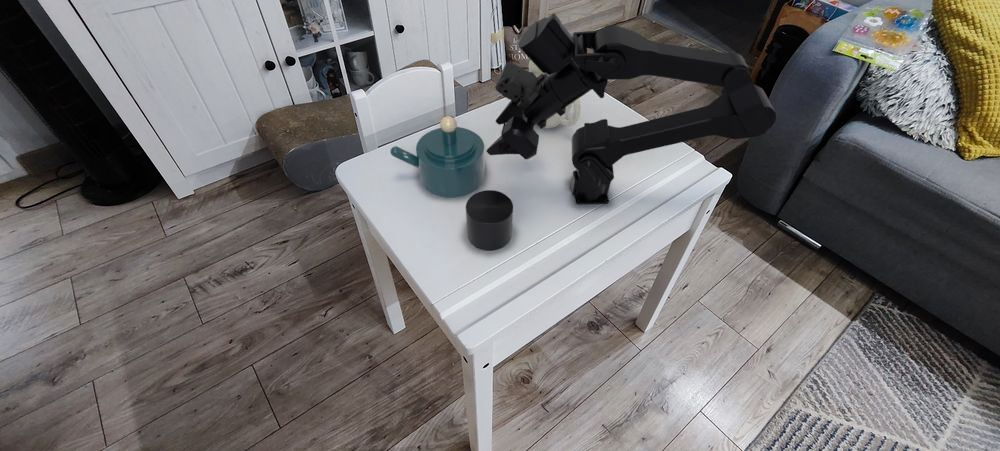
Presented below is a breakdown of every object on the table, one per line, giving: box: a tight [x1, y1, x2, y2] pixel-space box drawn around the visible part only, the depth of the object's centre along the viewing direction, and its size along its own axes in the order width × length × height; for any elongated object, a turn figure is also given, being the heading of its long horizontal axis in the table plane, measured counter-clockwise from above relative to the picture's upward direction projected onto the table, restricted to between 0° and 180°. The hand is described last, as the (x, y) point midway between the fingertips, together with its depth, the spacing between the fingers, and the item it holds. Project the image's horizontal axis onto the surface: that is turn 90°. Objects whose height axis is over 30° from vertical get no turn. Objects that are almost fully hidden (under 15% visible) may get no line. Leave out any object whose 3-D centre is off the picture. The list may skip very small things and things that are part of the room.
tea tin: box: [465, 189, 514, 252], centre depth 79 cm, size 8×8×7 cm
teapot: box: [389, 115, 485, 198], centre depth 91 cm, size 18×17×8 cm
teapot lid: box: [425, 115, 474, 159], centre depth 84 cm, size 9×9×6 cm
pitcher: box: [528, 58, 582, 129], centre depth 100 cm, size 11×18×14 cm, turn 32°
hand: (492, 137), depth 83 cm, fingers open, 9 cm apart
